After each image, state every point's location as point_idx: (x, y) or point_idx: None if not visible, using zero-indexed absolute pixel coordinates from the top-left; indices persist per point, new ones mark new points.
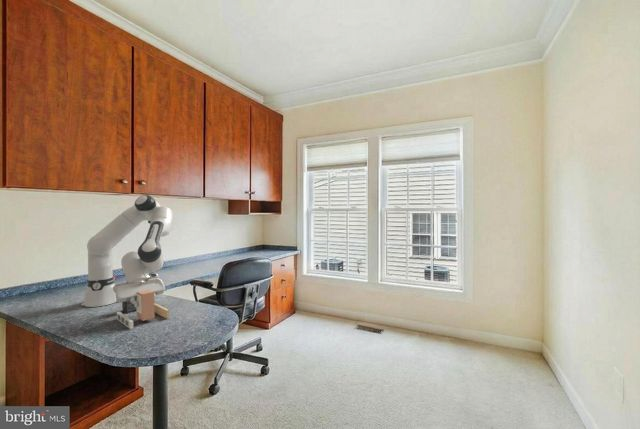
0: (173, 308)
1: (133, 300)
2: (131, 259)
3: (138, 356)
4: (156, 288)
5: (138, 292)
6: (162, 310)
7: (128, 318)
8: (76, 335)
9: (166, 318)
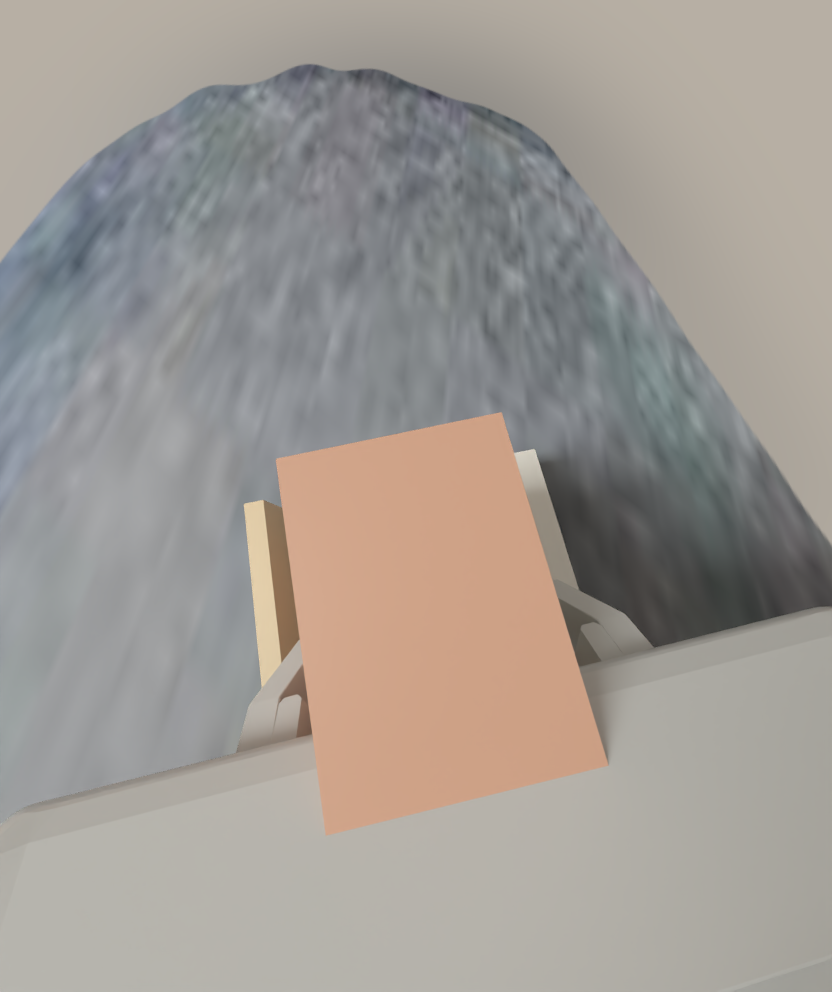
0: None
1: (584, 601)
2: None
3: (486, 130)
4: (124, 876)
5: (569, 654)
6: (283, 604)
7: (548, 546)
8: (814, 578)
9: None
